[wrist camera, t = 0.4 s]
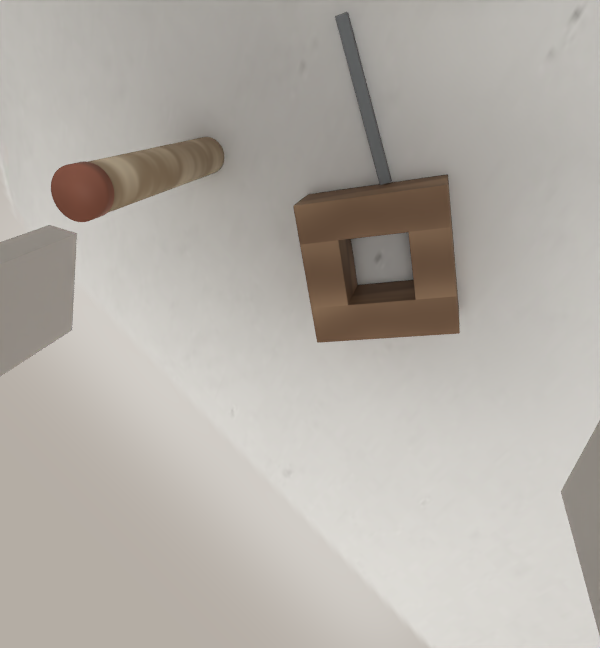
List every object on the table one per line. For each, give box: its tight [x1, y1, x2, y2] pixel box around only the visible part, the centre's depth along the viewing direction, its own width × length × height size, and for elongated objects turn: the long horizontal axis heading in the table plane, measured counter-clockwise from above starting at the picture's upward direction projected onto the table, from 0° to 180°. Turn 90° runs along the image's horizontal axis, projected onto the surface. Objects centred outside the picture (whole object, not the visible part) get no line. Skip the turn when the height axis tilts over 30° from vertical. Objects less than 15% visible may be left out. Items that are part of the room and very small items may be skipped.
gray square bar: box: [335, 12, 392, 185], centre depth 35 cm, size 10×1×1 cm, turn 18°
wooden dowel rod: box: [51, 137, 224, 222], centre depth 32 cm, size 2×2×15 cm
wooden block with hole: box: [293, 175, 460, 342], centre depth 36 cm, size 9×9×4 cm
